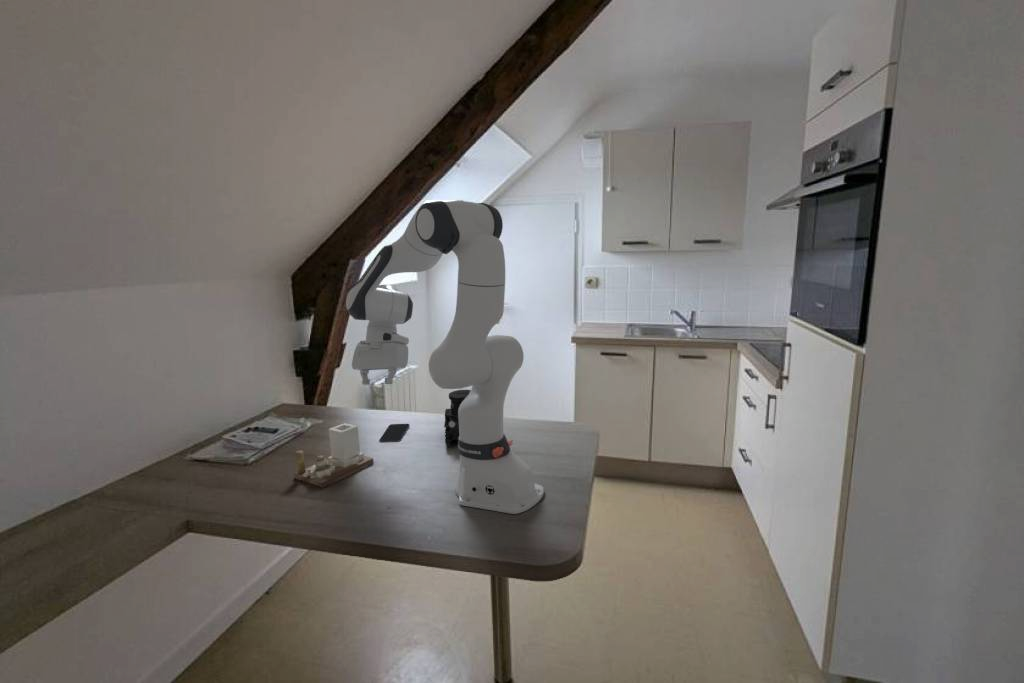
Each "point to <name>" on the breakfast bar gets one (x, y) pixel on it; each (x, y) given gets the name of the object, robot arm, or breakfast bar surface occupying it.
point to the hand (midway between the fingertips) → (376, 384)
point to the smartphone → (394, 433)
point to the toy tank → (453, 415)
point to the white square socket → (344, 445)
